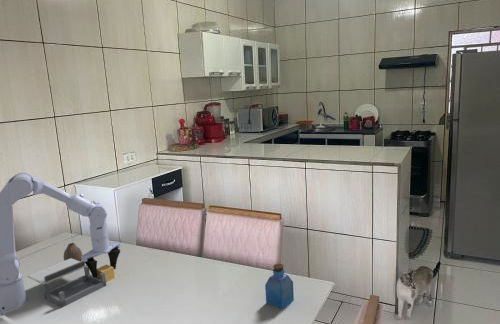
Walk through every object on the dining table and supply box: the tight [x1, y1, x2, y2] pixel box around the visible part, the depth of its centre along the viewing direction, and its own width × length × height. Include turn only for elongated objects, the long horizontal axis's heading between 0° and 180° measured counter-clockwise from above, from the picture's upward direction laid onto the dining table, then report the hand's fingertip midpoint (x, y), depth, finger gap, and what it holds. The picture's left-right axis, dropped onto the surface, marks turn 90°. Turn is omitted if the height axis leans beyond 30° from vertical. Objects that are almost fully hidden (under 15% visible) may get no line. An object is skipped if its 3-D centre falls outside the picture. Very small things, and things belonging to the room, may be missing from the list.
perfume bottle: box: [264, 263, 295, 310], centre depth 120 cm, size 6×6×12 cm
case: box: [42, 266, 107, 308], centre depth 133 cm, size 16×11×6 cm
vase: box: [63, 242, 83, 262], centre depth 157 cm, size 7×7×9 cm
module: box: [97, 264, 116, 283], centre depth 141 cm, size 4×4×5 cm
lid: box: [27, 258, 88, 286], centre depth 138 cm, size 16×11×2 cm
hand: (104, 272), depth 141 cm, fingers open, 7 cm apart
